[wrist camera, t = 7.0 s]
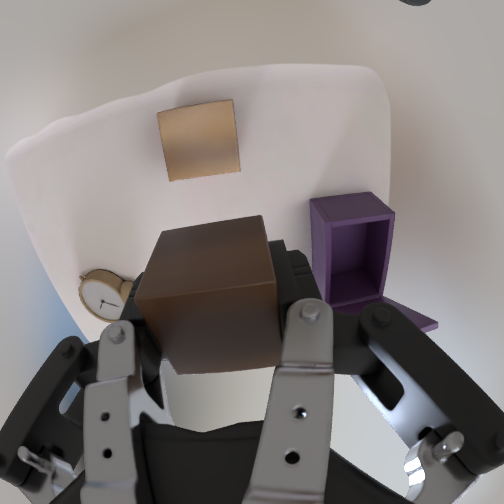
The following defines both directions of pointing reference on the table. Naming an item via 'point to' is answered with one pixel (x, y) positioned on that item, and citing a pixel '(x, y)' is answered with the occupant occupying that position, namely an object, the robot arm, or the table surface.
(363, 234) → the box
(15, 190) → the table surface
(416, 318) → the lid
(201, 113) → the stand
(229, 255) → the block
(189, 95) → the table surface
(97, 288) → the alarm clock
